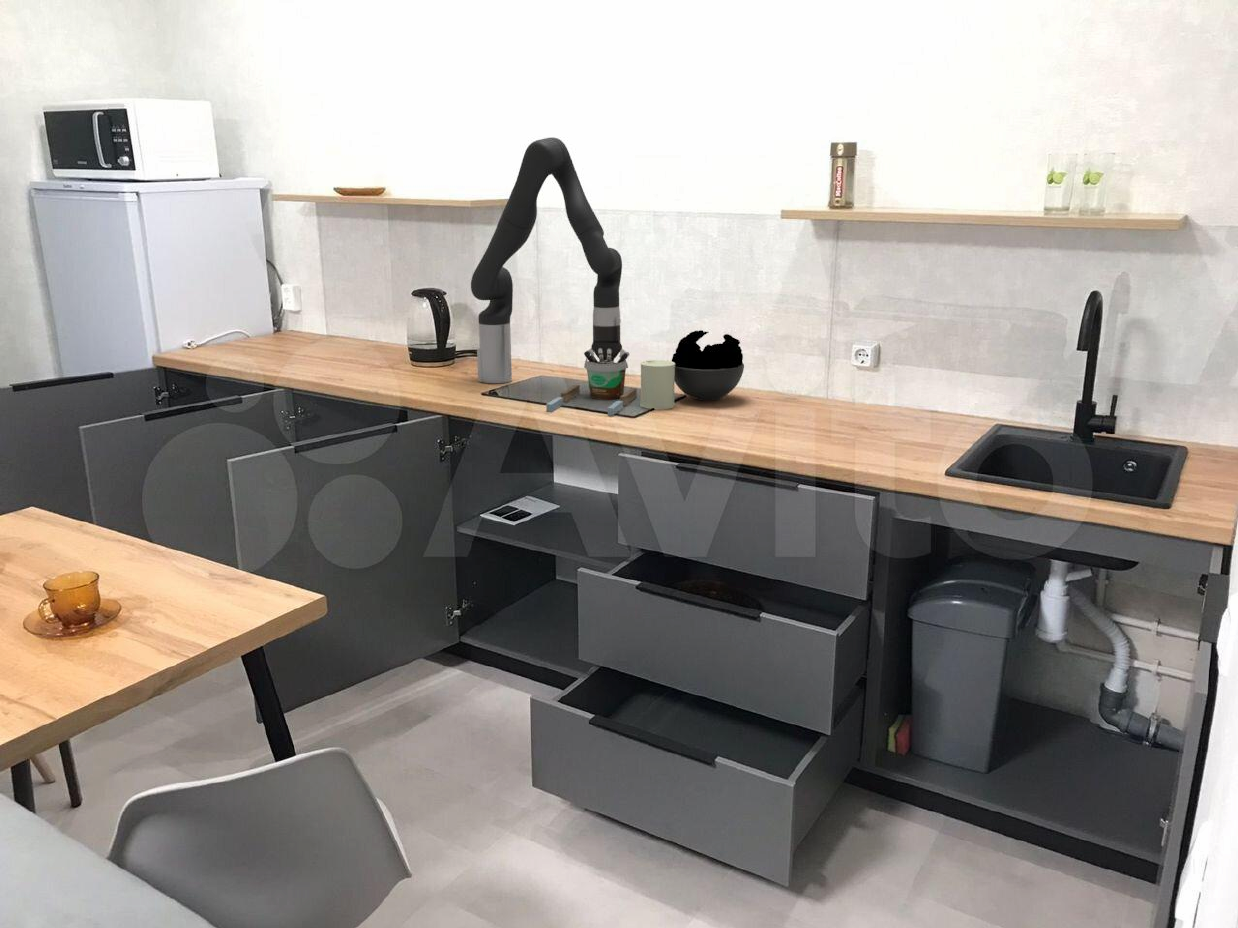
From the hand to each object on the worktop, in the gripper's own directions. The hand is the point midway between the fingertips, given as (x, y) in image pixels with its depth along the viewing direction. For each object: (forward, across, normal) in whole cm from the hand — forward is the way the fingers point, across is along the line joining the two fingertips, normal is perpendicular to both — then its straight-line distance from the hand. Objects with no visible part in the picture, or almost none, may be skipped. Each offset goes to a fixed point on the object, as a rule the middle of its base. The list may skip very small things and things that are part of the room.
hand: (606, 385), depth 275 cm
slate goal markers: (+2, 0, -20) cm, 20 cm away
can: (+3, +17, -10) cm, 20 cm away
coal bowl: (+3, +28, +1) cm, 28 cm away
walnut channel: (+3, 0, -7) cm, 7 cm away
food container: (+3, 0, -4) cm, 5 cm away
